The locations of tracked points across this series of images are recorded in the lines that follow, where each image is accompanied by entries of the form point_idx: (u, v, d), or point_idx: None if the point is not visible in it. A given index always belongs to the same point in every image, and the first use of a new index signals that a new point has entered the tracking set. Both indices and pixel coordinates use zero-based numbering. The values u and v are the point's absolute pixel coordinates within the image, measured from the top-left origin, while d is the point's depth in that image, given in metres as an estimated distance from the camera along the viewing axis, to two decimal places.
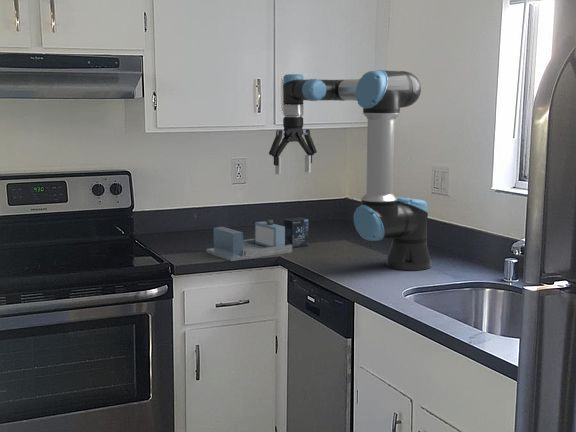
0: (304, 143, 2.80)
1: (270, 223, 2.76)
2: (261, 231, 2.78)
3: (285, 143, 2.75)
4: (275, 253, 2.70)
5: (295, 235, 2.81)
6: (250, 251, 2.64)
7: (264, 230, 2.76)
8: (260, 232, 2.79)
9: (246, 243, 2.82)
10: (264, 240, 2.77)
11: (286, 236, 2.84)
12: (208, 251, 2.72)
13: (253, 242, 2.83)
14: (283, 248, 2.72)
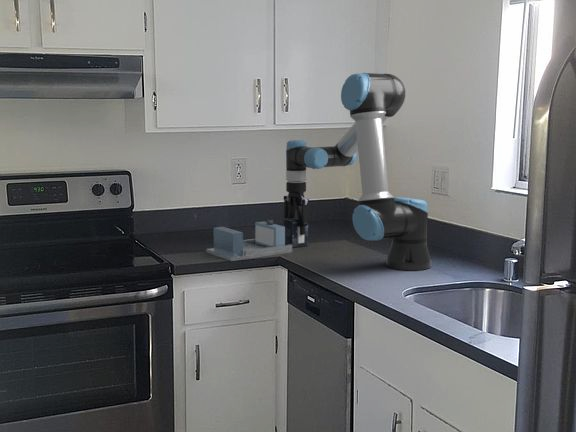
0: (297, 211, 2.81)
1: (270, 223, 2.76)
2: (261, 231, 2.78)
3: (289, 208, 2.85)
4: (275, 253, 2.70)
5: (295, 235, 2.81)
6: (250, 251, 2.64)
7: (264, 230, 2.76)
8: (260, 232, 2.79)
9: (246, 243, 2.82)
10: (264, 240, 2.77)
11: (286, 236, 2.84)
12: (208, 251, 2.72)
13: (253, 242, 2.83)
14: (283, 248, 2.72)
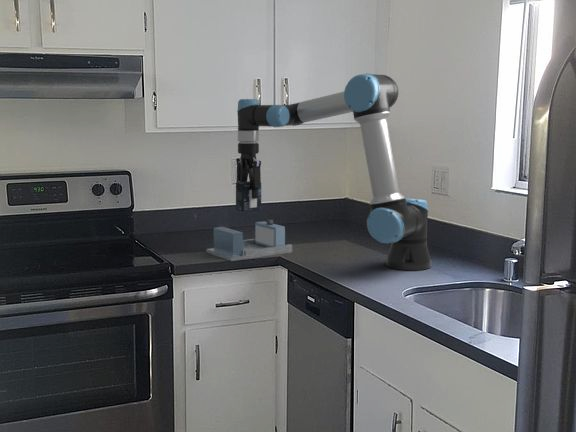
0: (249, 173, 2.67)
1: (270, 223, 2.76)
2: (261, 231, 2.78)
3: (241, 171, 2.71)
4: (275, 253, 2.70)
5: (247, 199, 2.67)
6: (250, 251, 2.64)
7: (264, 230, 2.76)
8: (260, 232, 2.79)
9: (246, 243, 2.82)
10: (264, 240, 2.77)
11: (238, 200, 2.69)
12: (208, 251, 2.72)
13: (253, 242, 2.83)
14: (283, 248, 2.72)
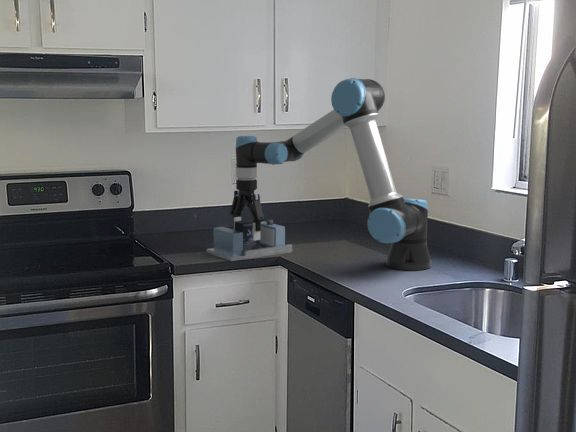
0: (250, 208, 2.66)
1: (270, 223, 2.76)
2: (261, 231, 2.78)
3: (238, 204, 2.73)
4: (275, 253, 2.70)
5: (246, 238, 2.69)
6: (250, 251, 2.64)
7: (264, 230, 2.76)
8: (260, 232, 2.79)
9: None
10: (264, 240, 2.77)
11: None
12: (208, 251, 2.72)
13: None
14: (283, 248, 2.72)
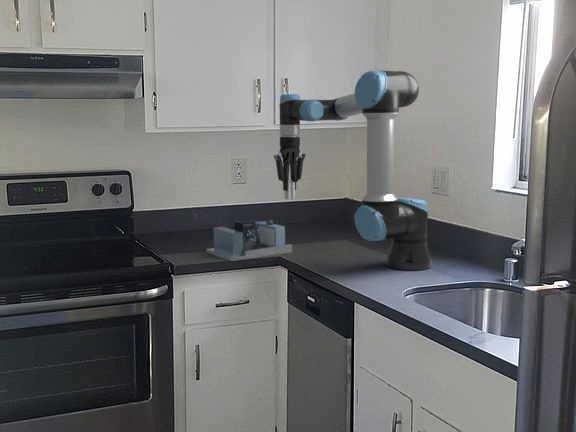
0: (294, 166, 2.79)
1: (270, 223, 2.76)
2: (261, 231, 2.78)
3: (287, 165, 2.77)
4: (275, 253, 2.70)
5: (246, 238, 2.69)
6: (250, 251, 2.64)
7: (264, 230, 2.76)
8: (260, 232, 2.79)
9: None
10: (264, 240, 2.77)
11: None
12: (208, 251, 2.72)
13: None
14: (283, 248, 2.72)
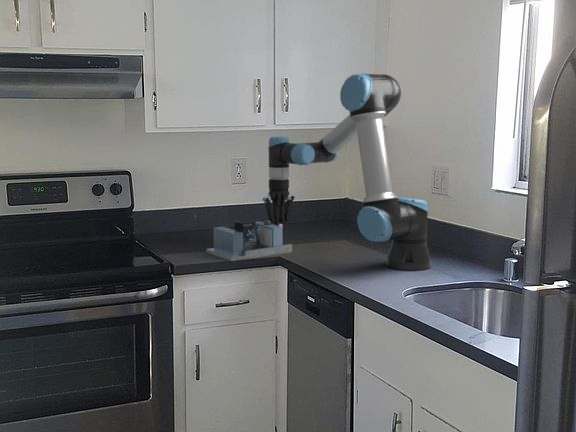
0: (283, 208, 2.79)
1: (268, 223, 2.76)
2: None
3: (277, 208, 2.77)
4: (275, 253, 2.70)
5: (246, 238, 2.69)
6: (250, 251, 2.64)
7: (262, 230, 2.76)
8: None
9: None
10: (262, 240, 2.76)
11: None
12: (208, 251, 2.72)
13: None
14: (283, 248, 2.72)
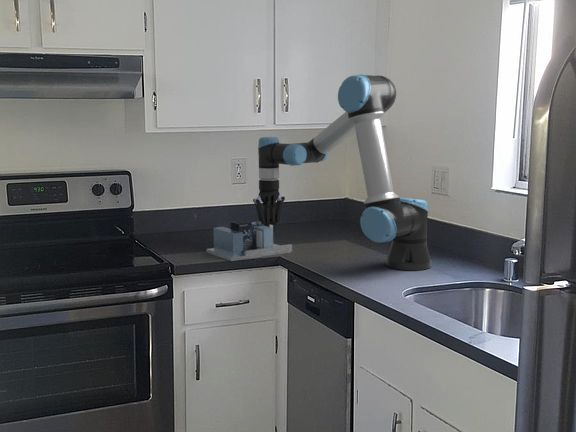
0: (273, 209, 2.76)
1: (258, 224, 2.73)
2: None
3: (267, 209, 2.75)
4: (275, 253, 2.70)
5: None
6: (250, 251, 2.64)
7: None
8: None
9: None
10: None
11: None
12: (208, 251, 2.72)
13: None
14: (283, 248, 2.72)
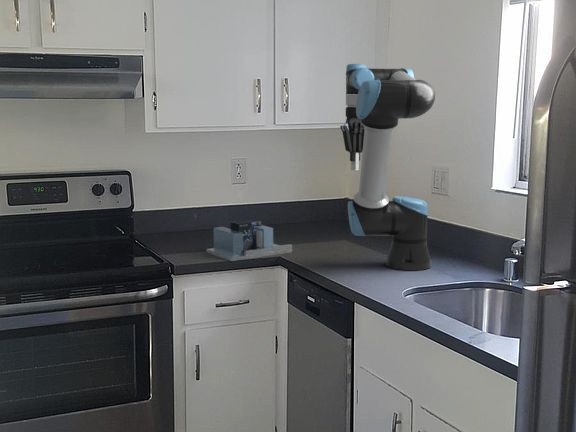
0: (360, 137, 2.77)
1: (258, 224, 2.73)
2: None
3: (354, 136, 2.75)
4: (275, 253, 2.70)
5: None
6: (250, 251, 2.64)
7: None
8: None
9: None
10: None
11: None
12: (208, 251, 2.72)
13: None
14: (283, 248, 2.72)
